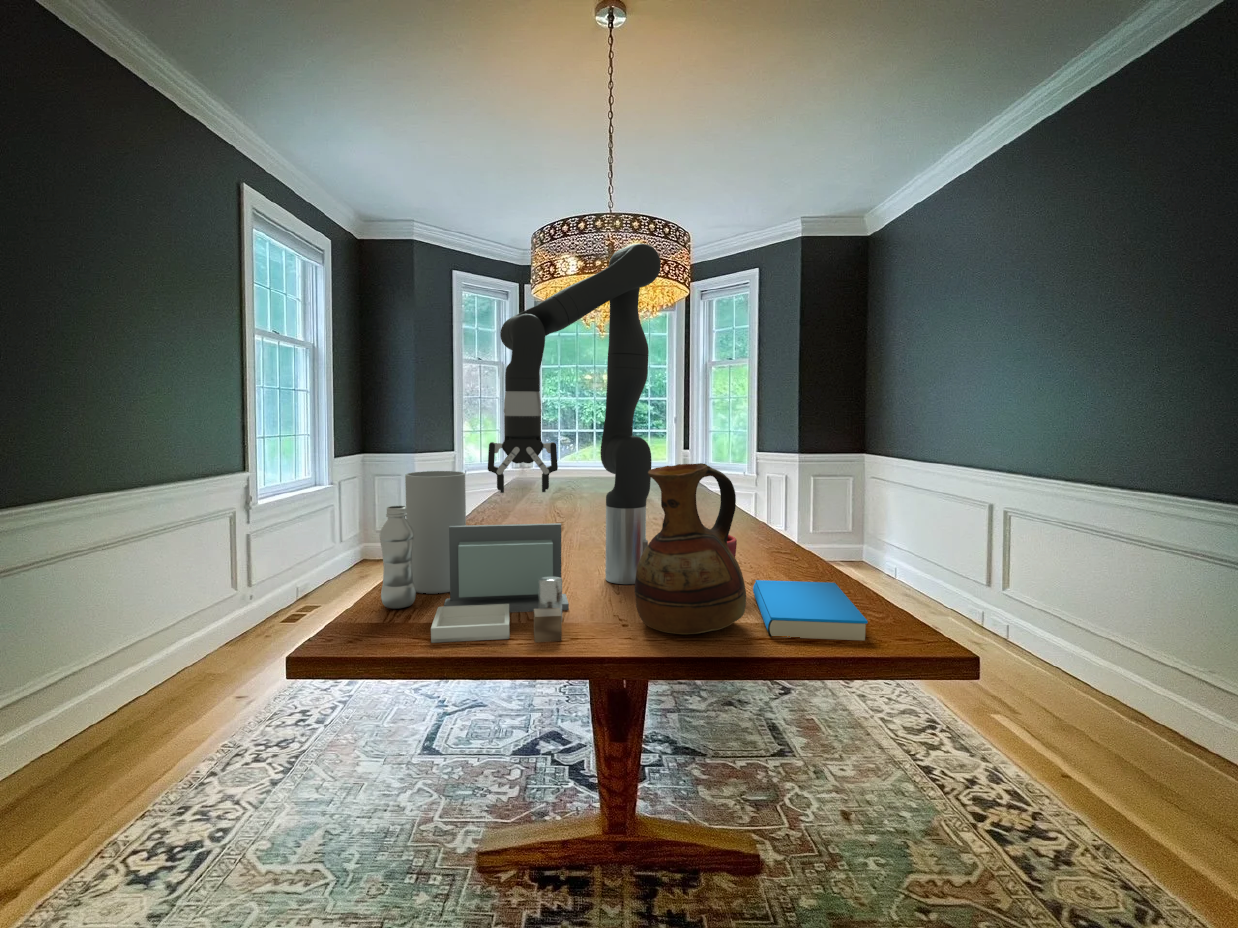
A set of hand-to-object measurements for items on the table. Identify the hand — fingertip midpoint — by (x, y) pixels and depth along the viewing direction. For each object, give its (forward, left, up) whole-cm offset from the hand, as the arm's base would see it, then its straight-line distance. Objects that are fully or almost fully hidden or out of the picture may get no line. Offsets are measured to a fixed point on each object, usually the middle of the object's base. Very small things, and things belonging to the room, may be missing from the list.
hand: (522, 492), depth 136 cm
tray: (+9, +20, -22) cm, 31 cm away
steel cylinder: (-5, +18, -22) cm, 29 cm away
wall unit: (+3, +8, -22) cm, 23 cm away
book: (-53, +21, -23) cm, 61 cm away
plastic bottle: (+24, +5, -22) cm, 33 cm away
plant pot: (-40, +1, -22) cm, 45 cm away
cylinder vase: (+18, -9, -22) cm, 30 cm away
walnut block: (-4, +26, -22) cm, 34 cm away
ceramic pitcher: (-30, +24, -22) cm, 44 cm away
